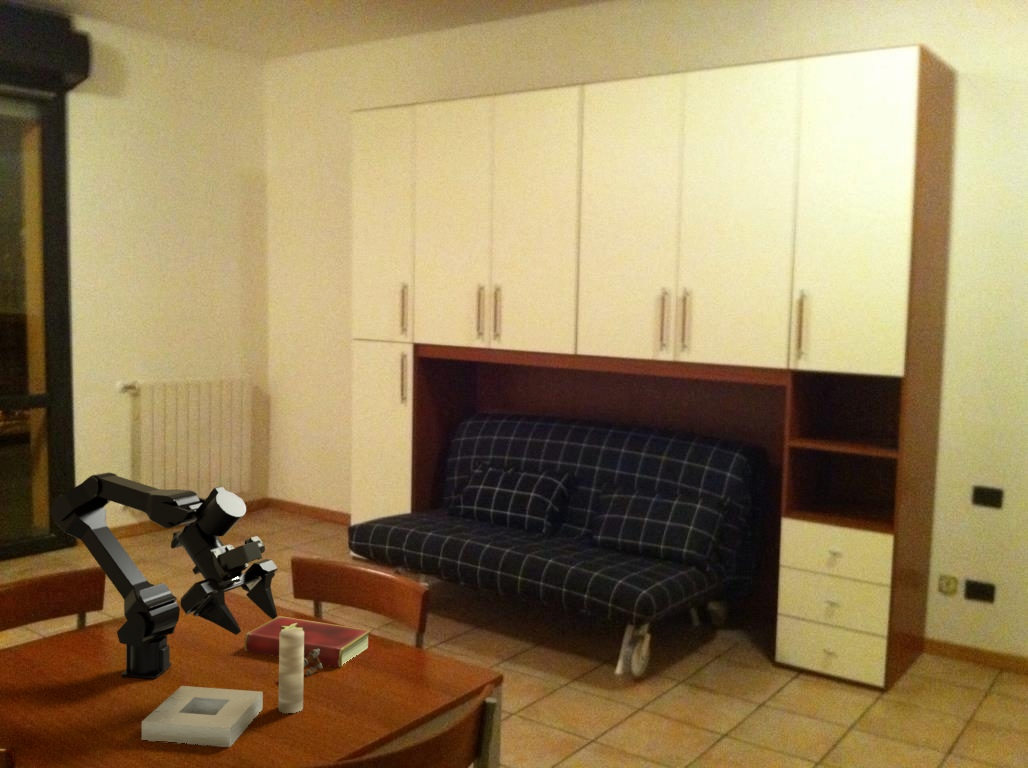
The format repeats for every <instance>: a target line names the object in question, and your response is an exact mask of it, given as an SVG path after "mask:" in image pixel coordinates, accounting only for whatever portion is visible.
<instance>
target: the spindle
mask: <svg viewBox="0 0 1028 768" xmlns="http://www.w3.org/2000/svg"><path fill="white" fill-rule="evenodd" d="M278 663H279V664H278V712H280V713H281V712H282V713H281V714H286V713H287V715H289V714H288V713H293V714H297V713H300V712H301V711H303V709H304V674H305V672H304V671H305V669H304V668H305V667H304V631H303V630H300V629H287V630H283V631H281V632H280V636H279V657H278ZM299 711H300V712H299ZM296 712H297V713H296Z"/></svg>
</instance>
